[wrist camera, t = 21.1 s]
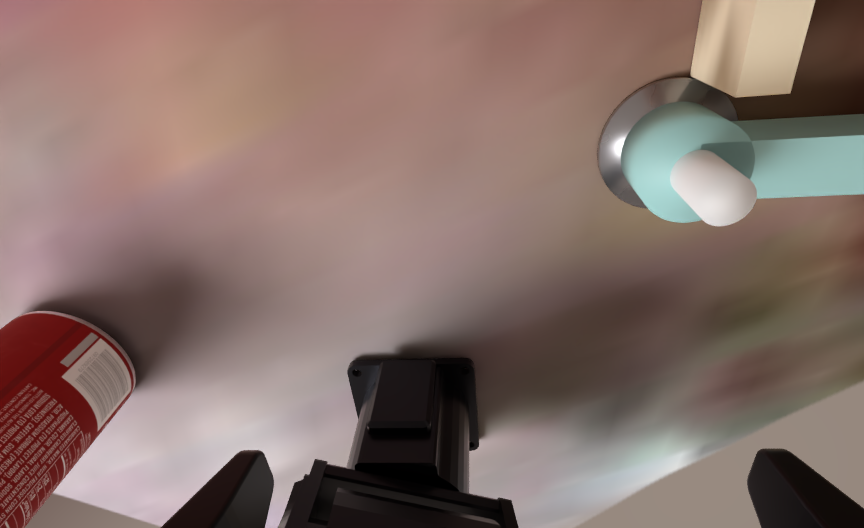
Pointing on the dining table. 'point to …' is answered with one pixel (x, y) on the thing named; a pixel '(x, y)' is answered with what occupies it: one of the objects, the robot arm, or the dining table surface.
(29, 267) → the dining table surface
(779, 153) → the link
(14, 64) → the dining table surface
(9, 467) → the soda can
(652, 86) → the grey hooked piece
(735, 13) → the cream c-clamp frame
